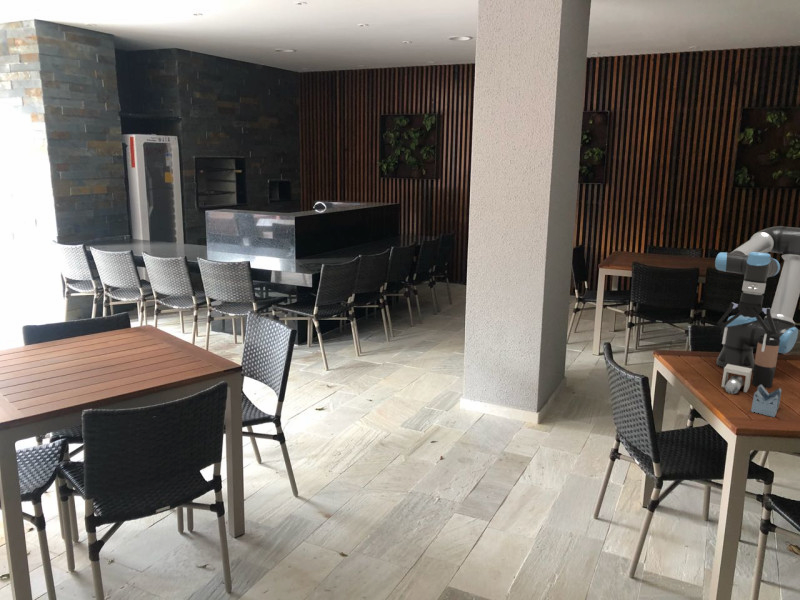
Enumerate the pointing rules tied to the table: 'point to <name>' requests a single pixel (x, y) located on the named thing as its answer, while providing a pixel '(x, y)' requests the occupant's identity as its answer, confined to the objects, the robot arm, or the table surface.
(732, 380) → the axle
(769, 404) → the v block
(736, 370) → the u shaped block
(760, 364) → the travel mug
